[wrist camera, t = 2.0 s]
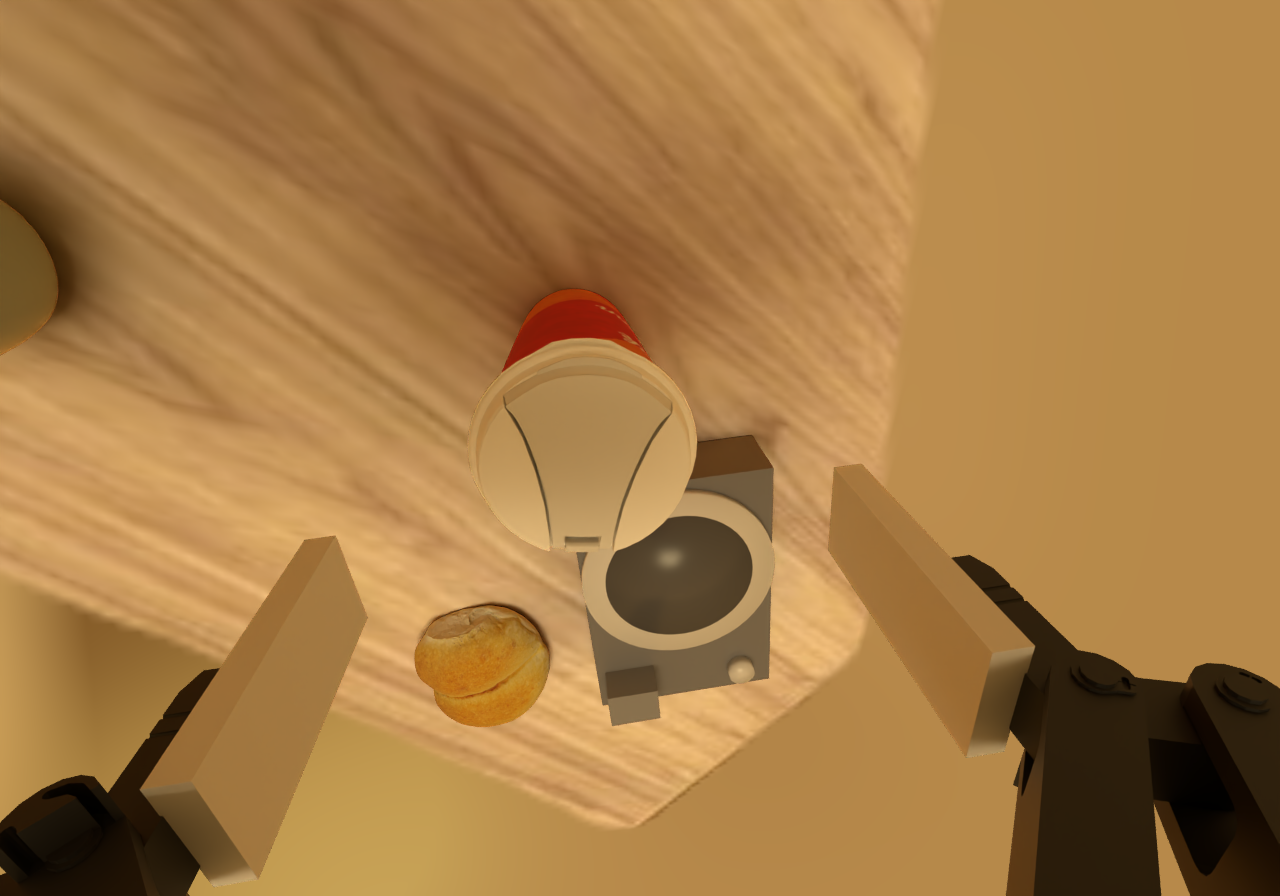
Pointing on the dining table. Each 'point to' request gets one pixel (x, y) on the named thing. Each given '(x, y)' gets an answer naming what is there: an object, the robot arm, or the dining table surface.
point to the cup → (23, 280)
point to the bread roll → (483, 665)
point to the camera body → (688, 589)
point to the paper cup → (581, 431)
